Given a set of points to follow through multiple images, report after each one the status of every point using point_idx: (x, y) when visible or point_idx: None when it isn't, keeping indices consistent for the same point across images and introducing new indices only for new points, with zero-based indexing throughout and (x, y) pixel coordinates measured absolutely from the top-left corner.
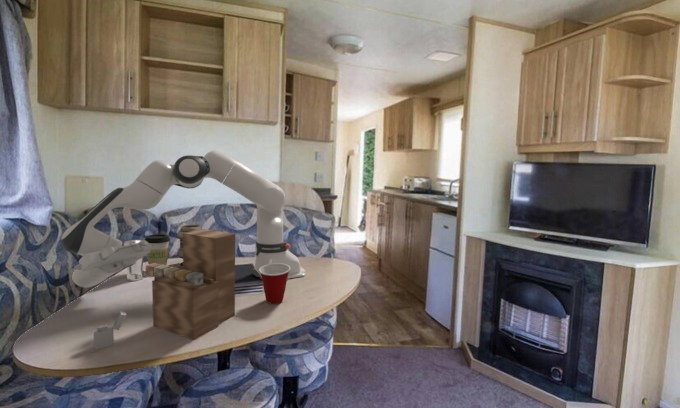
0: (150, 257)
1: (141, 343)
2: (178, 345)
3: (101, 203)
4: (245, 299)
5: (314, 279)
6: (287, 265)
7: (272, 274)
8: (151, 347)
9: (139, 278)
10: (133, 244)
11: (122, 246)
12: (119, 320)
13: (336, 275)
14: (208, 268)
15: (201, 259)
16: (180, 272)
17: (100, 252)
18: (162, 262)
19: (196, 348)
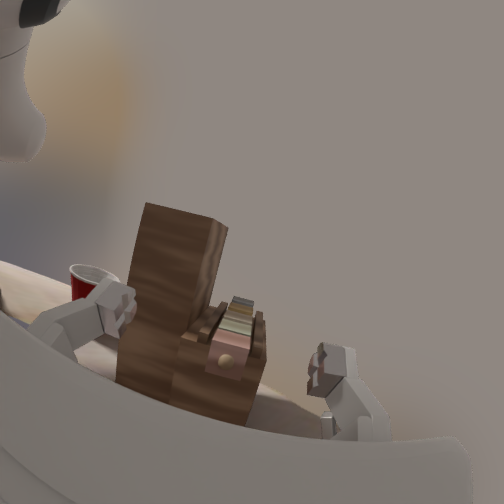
0: None
1: (292, 434)
2: (266, 399)
3: None
4: (76, 350)
5: (15, 285)
6: (84, 265)
7: (119, 281)
8: (291, 420)
9: None
10: (59, 353)
11: (161, 403)
12: (332, 422)
13: (11, 272)
14: (210, 289)
15: (210, 276)
16: (250, 309)
17: (390, 432)
18: None
19: (260, 384)
